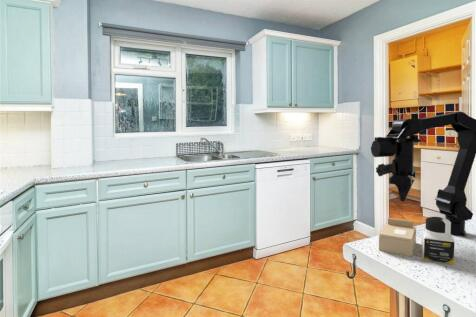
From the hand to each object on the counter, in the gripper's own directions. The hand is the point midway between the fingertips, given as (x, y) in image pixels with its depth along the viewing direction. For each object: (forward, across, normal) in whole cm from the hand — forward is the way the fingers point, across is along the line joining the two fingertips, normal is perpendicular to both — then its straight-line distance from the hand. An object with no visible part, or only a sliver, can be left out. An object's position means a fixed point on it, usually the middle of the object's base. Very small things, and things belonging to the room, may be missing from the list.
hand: (402, 200), depth 102 cm
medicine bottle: (+13, +14, +10) cm, 22 cm away
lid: (+8, +11, 0) cm, 14 cm away
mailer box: (+13, +11, 0) cm, 17 cm away
